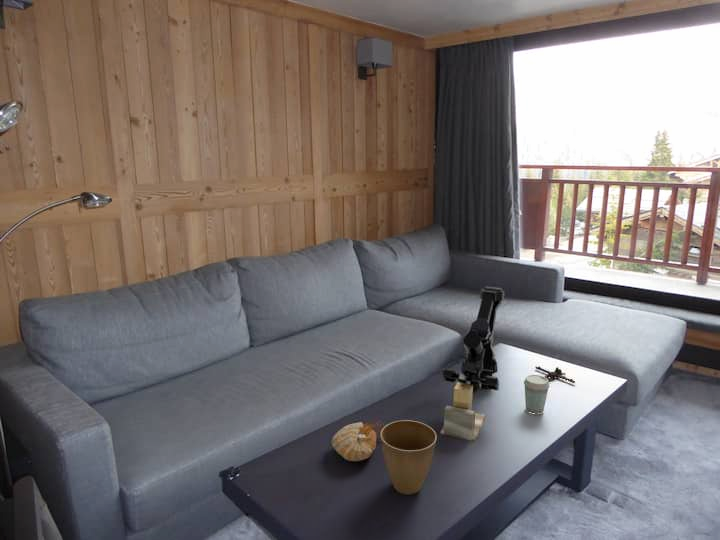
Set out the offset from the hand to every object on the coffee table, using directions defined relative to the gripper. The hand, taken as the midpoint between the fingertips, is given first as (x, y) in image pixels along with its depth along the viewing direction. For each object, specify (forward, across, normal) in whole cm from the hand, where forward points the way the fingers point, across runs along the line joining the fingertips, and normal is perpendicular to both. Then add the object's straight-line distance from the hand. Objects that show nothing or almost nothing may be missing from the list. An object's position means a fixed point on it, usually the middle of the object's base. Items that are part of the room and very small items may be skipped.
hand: (465, 403), depth 173 cm
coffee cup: (-7, +20, +18) cm, 28 cm away
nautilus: (+25, -24, -15) cm, 38 cm away
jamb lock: (+6, 0, +4) cm, 8 cm away
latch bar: (+7, 0, +2) cm, 7 cm away
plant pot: (+33, -6, -23) cm, 41 cm away
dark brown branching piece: (-28, +23, +40) cm, 54 cm away
